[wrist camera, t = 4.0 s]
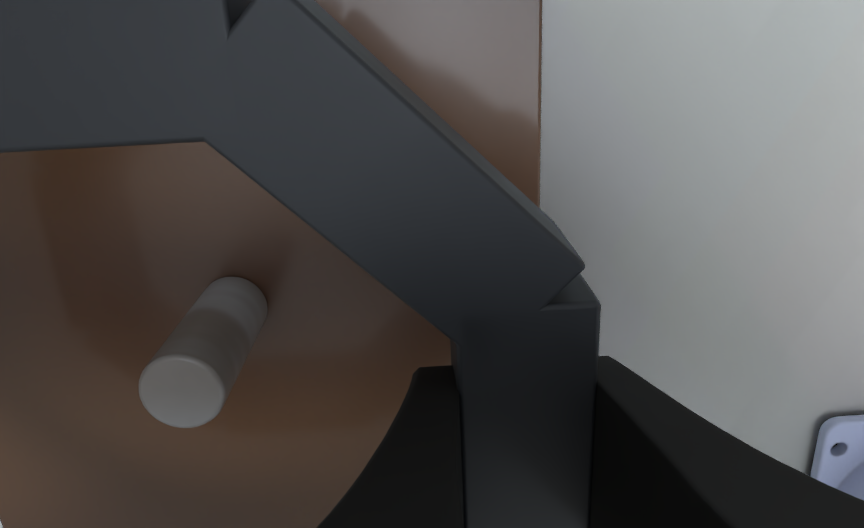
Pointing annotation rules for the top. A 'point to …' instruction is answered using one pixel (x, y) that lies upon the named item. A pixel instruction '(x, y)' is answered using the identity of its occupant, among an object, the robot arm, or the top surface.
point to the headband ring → (346, 203)
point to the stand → (226, 305)
